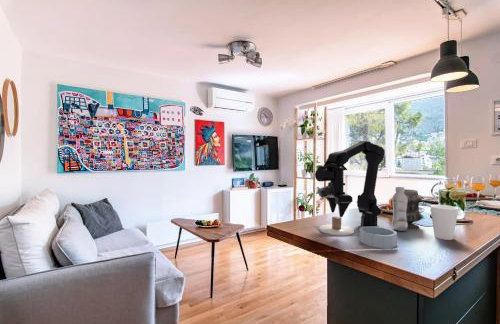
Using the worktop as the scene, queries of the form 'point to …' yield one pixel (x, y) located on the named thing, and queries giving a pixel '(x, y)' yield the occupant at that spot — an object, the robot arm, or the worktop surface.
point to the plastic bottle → (399, 210)
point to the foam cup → (444, 221)
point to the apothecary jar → (413, 208)
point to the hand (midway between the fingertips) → (336, 214)
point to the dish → (378, 237)
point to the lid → (336, 228)
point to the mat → (334, 235)
